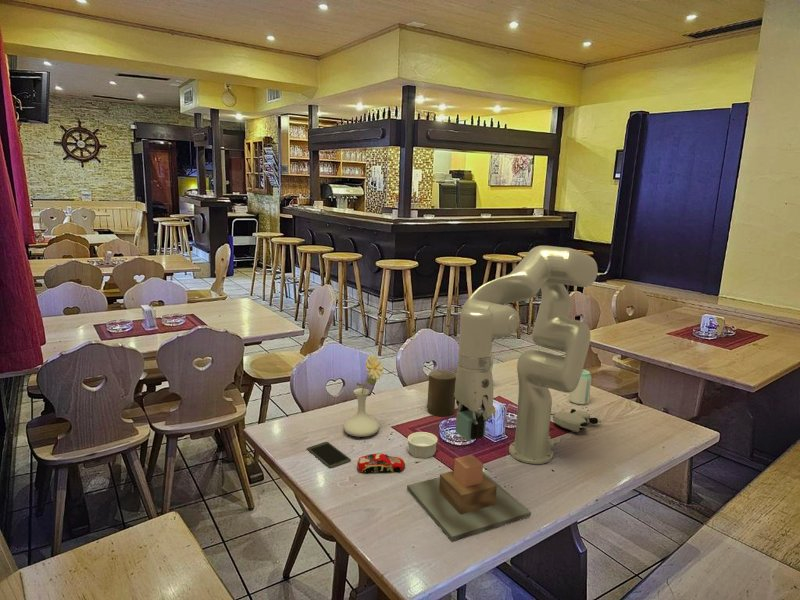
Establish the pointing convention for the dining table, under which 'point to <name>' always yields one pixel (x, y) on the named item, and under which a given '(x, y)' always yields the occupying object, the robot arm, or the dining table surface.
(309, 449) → the cell phone
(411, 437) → the ramekin
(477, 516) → the tower base
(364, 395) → the flower in vase
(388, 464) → the race car
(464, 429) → the teal-grey brick
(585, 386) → the can
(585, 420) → the robot toy
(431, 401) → the pillar candle
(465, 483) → the terracotta brick
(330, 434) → the dining table surface
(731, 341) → the dining table surface
